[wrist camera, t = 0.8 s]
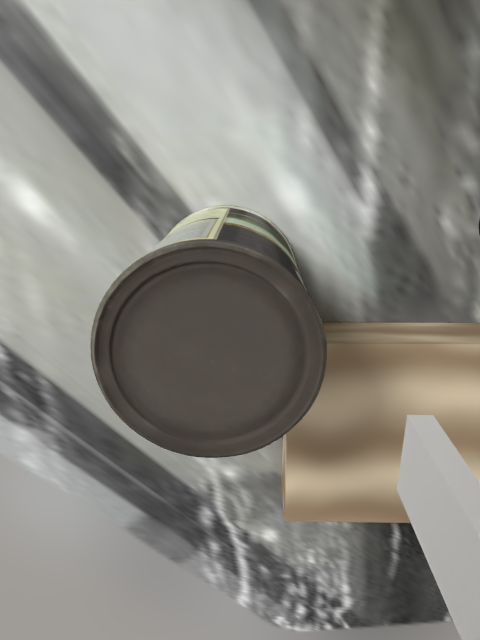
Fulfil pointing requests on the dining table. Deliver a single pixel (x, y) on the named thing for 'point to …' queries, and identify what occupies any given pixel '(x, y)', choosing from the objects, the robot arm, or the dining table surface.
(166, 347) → the coffee can
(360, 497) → the oak riser
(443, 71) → the dining table surface
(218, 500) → the dining table surface
